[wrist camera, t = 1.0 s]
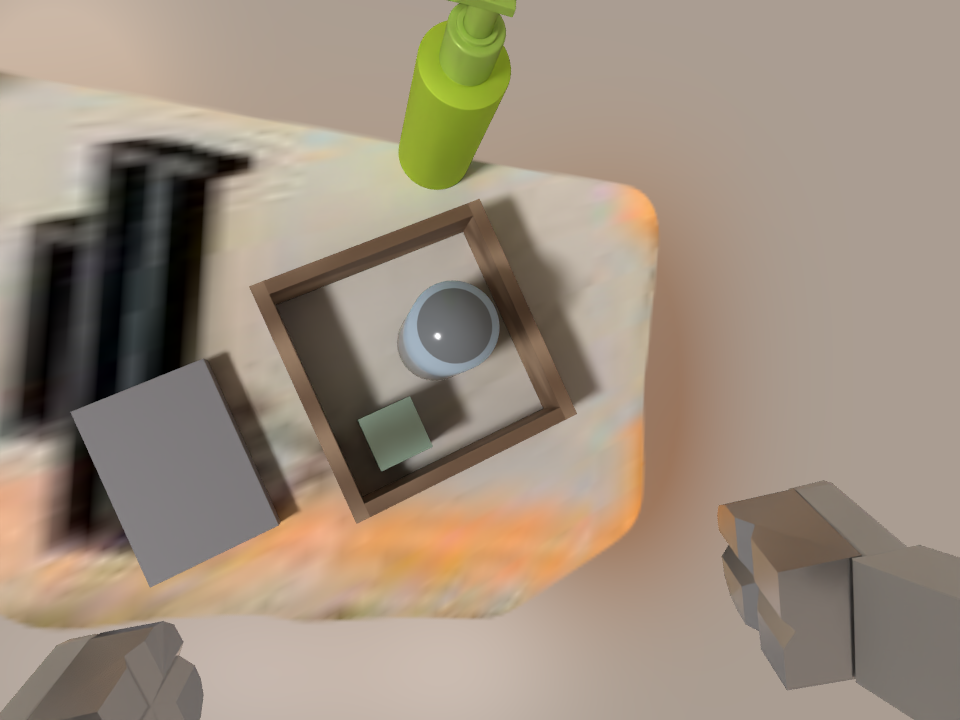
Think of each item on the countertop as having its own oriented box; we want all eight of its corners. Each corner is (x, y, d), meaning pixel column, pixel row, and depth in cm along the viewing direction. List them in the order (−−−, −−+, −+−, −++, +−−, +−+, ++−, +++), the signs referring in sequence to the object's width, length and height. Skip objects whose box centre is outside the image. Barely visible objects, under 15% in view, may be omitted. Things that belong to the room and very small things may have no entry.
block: (357, 419, 46) (358, 419, 43) (404, 398, 47) (409, 396, 44) (378, 467, 46) (381, 471, 43) (425, 444, 47) (432, 446, 43)
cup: (384, 323, 48) (394, 301, 39) (453, 295, 49) (476, 267, 40) (416, 393, 48) (432, 386, 39) (483, 362, 49) (514, 349, 40)
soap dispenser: (389, 112, 49) (418, -89, 30) (471, 128, 51) (551, -54, 31) (382, 181, 49) (407, 20, 29) (465, 195, 50) (543, 50, 31)
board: (80, 412, 42) (70, 412, 41) (207, 360, 44) (203, 358, 43) (156, 581, 42) (150, 587, 41) (280, 521, 44) (278, 525, 43)
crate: (257, 298, 46) (249, 286, 42) (468, 216, 50) (479, 198, 46) (355, 515, 46) (356, 523, 42) (558, 414, 50) (577, 413, 46)
